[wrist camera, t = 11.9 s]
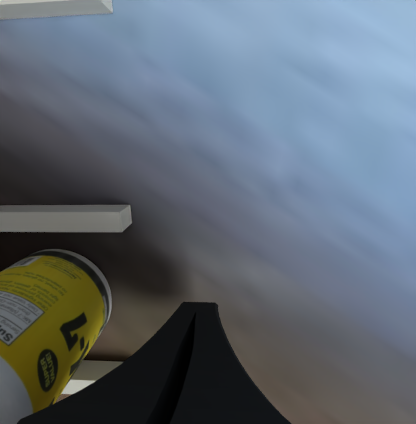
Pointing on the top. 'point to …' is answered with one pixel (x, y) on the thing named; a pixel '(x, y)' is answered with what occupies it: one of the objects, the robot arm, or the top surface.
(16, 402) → the supplement bottle
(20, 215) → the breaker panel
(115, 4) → the top surface
